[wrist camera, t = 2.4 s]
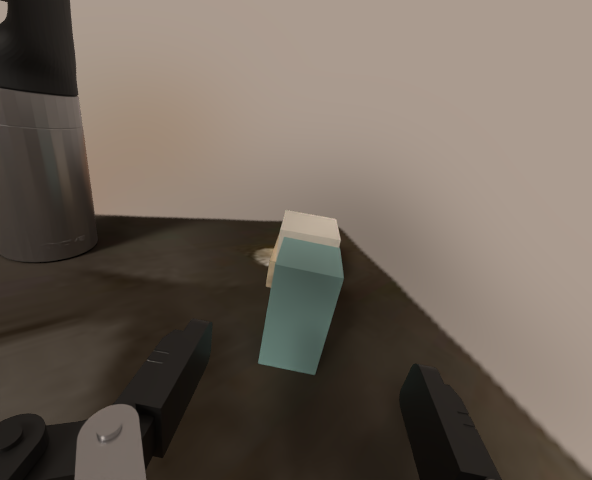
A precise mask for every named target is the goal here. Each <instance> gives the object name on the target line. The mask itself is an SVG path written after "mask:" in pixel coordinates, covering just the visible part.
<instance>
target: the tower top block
mask: <svg viewBox="0 0 592 480" xmlns="http://www.w3.org/2000/svg"><path fill="white" fill-rule="evenodd" d="M284 237H288V238H293V239H298V240H303V241H308V242H313V243H318V244H323V245H328V246H333V247H338V248H339V245H340V241H341V239H340V235H339V230H338V226H337V221H336V219H333V218H327V217H322V216H317V215H311V214H306V213H300V212H294V211H289V210H286V211H285V215H284V218H283V222H282V225H281V229H280V235H279V241H278V247H277V254H276V260H277V257H278V254H279V251H280V248H281V245H282V241H283V238H284Z"/></svg>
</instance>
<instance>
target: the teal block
mask: <svg viewBox="0 0 592 480" xmlns="http://www.w3.org/2000/svg"><path fill="white" fill-rule="evenodd" d="M343 280H344V275H343V268H342V260H341V252H340V248H338V247H333V246H328V245H323V244H318V243H313V242H308V241H303V240H298V239H293V238H288V237H284V238H283V241H282V245H281V248H280V251H279V254H278V257H277V260H276V263H275V268H274V274H273V279H272V285H271V291H270V297H269V303H268V309H267V314H266V320H265V326H264V332H263V338H262V344H261V350H260V355H259V361H258V364H263V365H268V366H273V367H278V368H283V369H287V370H292V371H297V372H302V373H307V374H312V375H315V373H316V370H317V367H318V363H319V360H320V357H321V353H322V350H323V346H324V343H325V340H326V336H327V333H328V330H329V326H330V323H331V320H332V316H333V313H334V310H335V306H336V303H337V300H338V296H339V293H340V290H341V286H342V283H343Z"/></svg>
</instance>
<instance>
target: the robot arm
mask: <svg viewBox="0 0 592 480" xmlns="http://www.w3.org/2000/svg"><path fill="white" fill-rule="evenodd" d="M1 1H5V2H8V11H7V12H8V13H7V17H6V19H5V20H4V21H3V22H2V23H1V24H0V254H1V255H2V256H3V257H5V258H7V259H11V260H14V261H21V262H47V261H55V260H61V259H66V258H70V257H73V256H76V255H79V254H82V253H84V252H86V251H88V250H90V249H91V248H93V247H94V246H95V245H96V243H97V242H98V236H97V229H96V221H95V214H94V205H93V198H92V191H91V184H90V177H89V169H88V162H87V154H86V147H85V140H84V133H83V126H82V119H81V111H80V105H79V97H78V96H77V95H78V89H77V81H76V61H75V50H74V42H73V34H72V24H71V11H70V0H1ZM211 339H212V322H208V321H203V320H198V319H192V320H191V321H190V322H189V324H188V325H187V327H186V328H185V330H184V331H181V330H176V329H175V330H173V331H172V332H171V333H169V334H168V335H166V336H165V337H163V338H162V340H161V341H160V342H159V344H158V345H157V346H156V348H155V349H154V352H152V353H151V354H150V356H149V357H148V358H147V361H145V362H144V364H143V365H142V367H141V368H140V369H139V371H138V372H137V373H136V375H135V376H134V377H133V379H132V380H131V381H130V383H129V384H128V385H127V387H126V388H125V389H124V391H123V392H122V394H121V395H120V396H119V398H118V399H117V400H116V401H115V402H114V403H113V404H112V405H111V406H108V407H106V408H103V409H102V410H100V411H98V412H97V413H95V414H94V415H93V416H91V417H90V418H89V419H87V420H83V421H78V422H71V423H63V424H55V425H48V426H46V425H45V422H44V420H43V418H42V417H40V416H39V415H36V414H20V415H16V416H13V417H10V418H8V419H5V420H3V421H1V422H0V480H146V475H145V470H146V468H147V466H148V464H149V462H150V460H151V458H152V456H155V457H160V458H163V457H164V455H165V453H166V451H167V448H168V446H169V444H170V442H171V440H172V438H173V436H174V434H175V432H176V429H177V427H178V425H179V423H180V421H181V419H182V417H183V415H184V413H185V411H186V408H187V406H188V404H189V402H190V400H191V398H192V396H193V394H194V392H195V390H196V387H197V385H198V383H199V381H200V379H201V377H202V375H203V373H204V371H205V368H206V366H207V364H208V361H209V357H210V352H211ZM399 401H400V408H401V412H402V416H403V419H404V423H405V427H406V430H407V434H408V438H409V441H410V445H411V449H412V452H413V456H414V460H415V463H416V467H417V471H418V474H419V478H420V480H502V479H501V477H500V475H499V473H498V471H497V469H496V467H495V465H494V463H493V461H492V459H491V457H490V455H489V453H488V451H487V449H486V447H485V445H484V443H483V441H482V439H481V437H480V435H479V433H478V431H477V429H475V425H474V423H473V421H472V419H471V417H469V416H468V414H469V413H468V411H467V409H466V407H465V405H464V404H463V402H462V400H461V398H460V397H459V396H458V395H457V393H456V392H455V391H454V390H453V389H452V388H451V386H450V385H446V384H444V382H443V380H442V378H441V376H440V374H439V372H438V370H437V369H436V368H435V367H430V366H425V365H420V364H413V366H412V367H411V369H410V371H409V373H408V376H407V378H406V380H405V382H404V384H403V386H402V388H401V391H400V398H399Z"/></svg>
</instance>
